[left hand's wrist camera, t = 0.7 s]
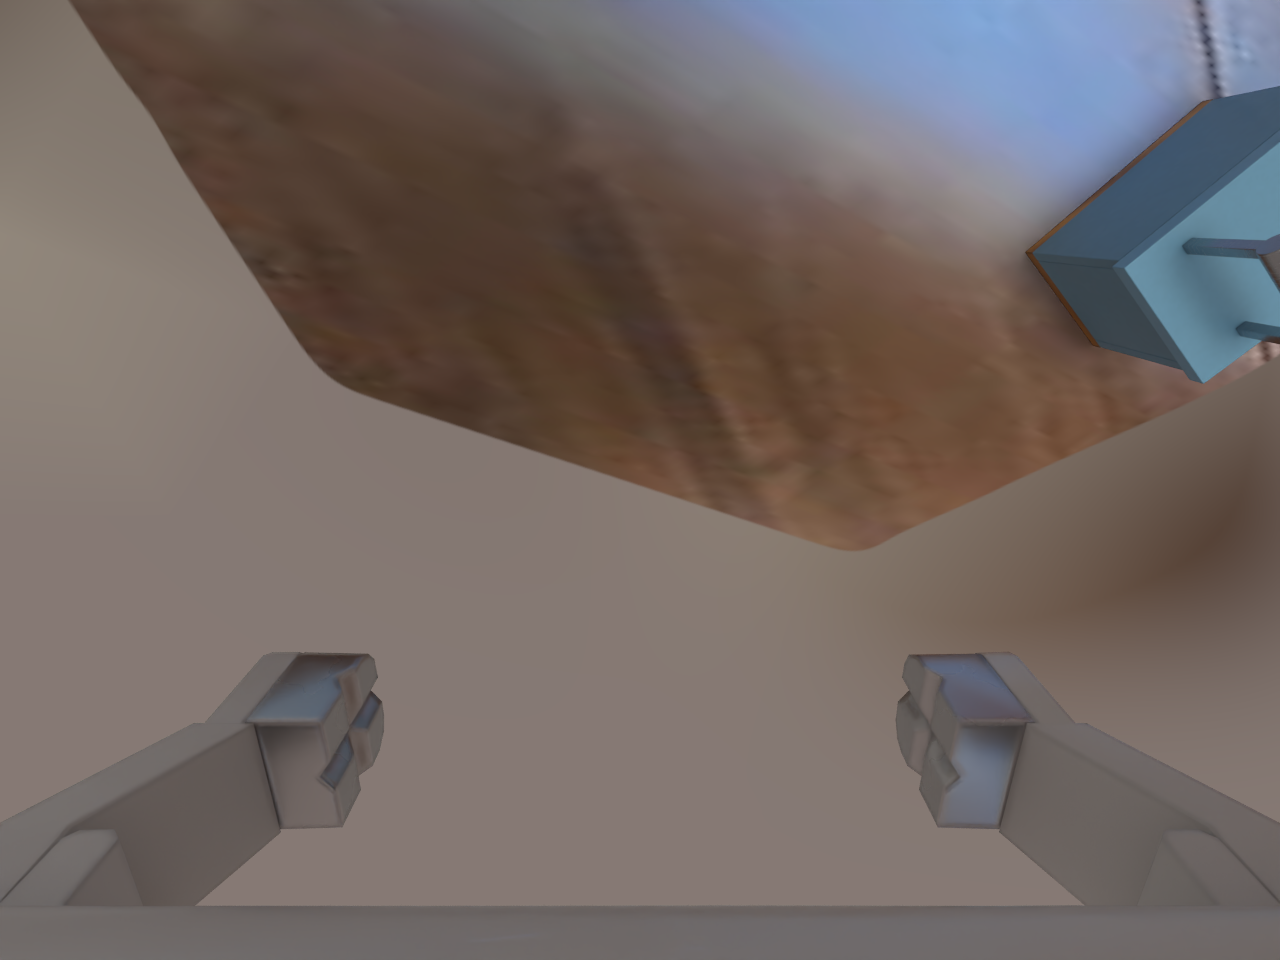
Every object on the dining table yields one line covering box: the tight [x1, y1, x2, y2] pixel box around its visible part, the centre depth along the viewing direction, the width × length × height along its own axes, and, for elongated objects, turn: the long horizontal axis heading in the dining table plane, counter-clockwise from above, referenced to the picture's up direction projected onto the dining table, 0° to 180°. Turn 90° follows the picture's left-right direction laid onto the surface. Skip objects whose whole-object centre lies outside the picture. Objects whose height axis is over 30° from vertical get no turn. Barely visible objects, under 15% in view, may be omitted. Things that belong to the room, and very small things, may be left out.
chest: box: [1026, 86, 1280, 370], centre depth 47 cm, size 15×10×11 cm
